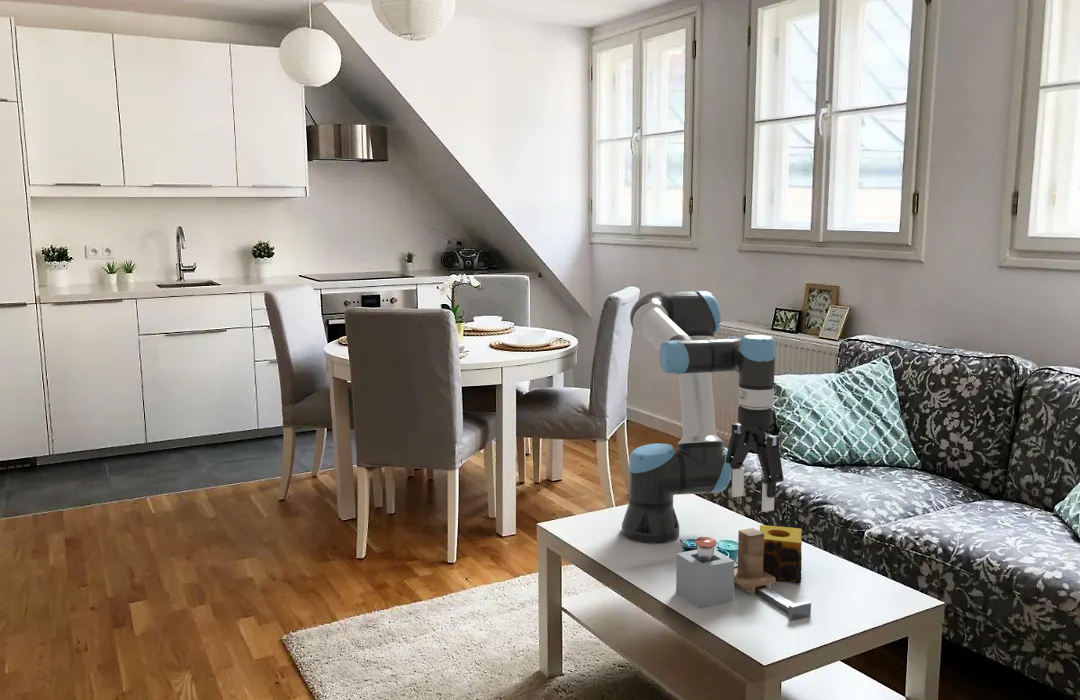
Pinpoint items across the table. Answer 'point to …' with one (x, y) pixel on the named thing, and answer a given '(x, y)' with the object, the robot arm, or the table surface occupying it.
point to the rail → (784, 603)
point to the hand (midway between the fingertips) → (752, 503)
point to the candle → (782, 553)
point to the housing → (705, 578)
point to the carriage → (751, 561)
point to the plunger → (705, 549)
